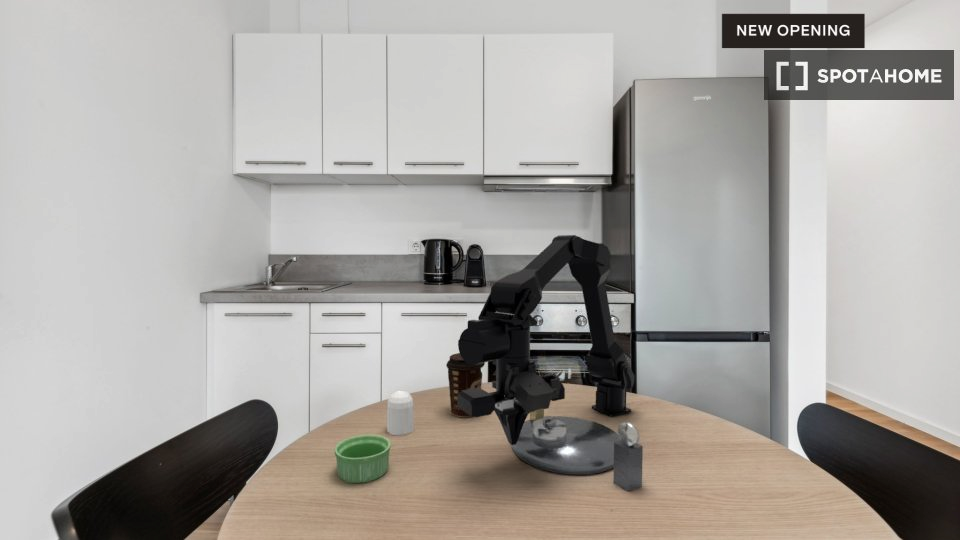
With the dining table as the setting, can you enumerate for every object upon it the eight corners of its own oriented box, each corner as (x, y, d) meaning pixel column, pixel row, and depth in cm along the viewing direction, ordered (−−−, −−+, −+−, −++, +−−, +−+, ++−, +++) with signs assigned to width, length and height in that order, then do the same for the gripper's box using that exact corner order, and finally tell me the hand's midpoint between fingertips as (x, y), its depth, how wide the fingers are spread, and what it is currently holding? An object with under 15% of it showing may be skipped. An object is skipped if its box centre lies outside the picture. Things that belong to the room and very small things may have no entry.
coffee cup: (486, 407, 103) (486, 352, 102) (482, 420, 95) (483, 360, 94) (449, 405, 104) (449, 351, 103) (443, 418, 96) (443, 359, 95)
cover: (551, 431, 83) (552, 410, 83) (573, 443, 78) (573, 420, 78) (525, 438, 80) (526, 415, 80) (546, 451, 75) (546, 427, 75)
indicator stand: (625, 477, 71) (626, 417, 71) (642, 487, 68) (644, 424, 68) (612, 481, 70) (613, 421, 69) (629, 492, 67) (630, 428, 66)
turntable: (571, 419, 95) (571, 395, 95) (647, 456, 78) (647, 428, 77) (492, 438, 85) (492, 411, 85) (559, 486, 68) (559, 453, 68)
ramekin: (400, 463, 76) (400, 438, 75) (371, 490, 67) (371, 462, 67) (356, 455, 79) (356, 431, 78) (322, 480, 70) (322, 453, 70)
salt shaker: (415, 424, 92) (415, 387, 92) (412, 435, 87) (411, 395, 87) (389, 424, 92) (389, 387, 92) (385, 435, 87) (384, 395, 87)
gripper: (490, 373, 63) (489, 479, 64) (587, 357, 72) (586, 450, 73) (455, 356, 73) (455, 449, 74) (545, 345, 82) (544, 427, 83)
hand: (512, 444), depth 75 cm, fingers closed
